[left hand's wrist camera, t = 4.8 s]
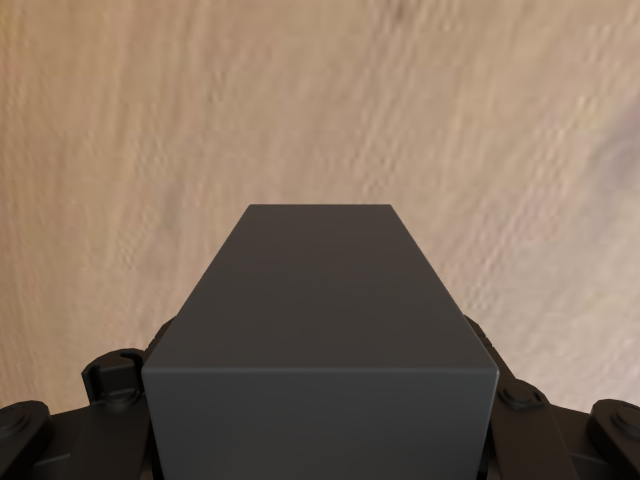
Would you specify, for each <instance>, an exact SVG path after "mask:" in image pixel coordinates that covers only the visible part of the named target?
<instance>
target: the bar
mask: <svg viewBox="0 0 640 480" xmlns="http://www.w3.org/2000/svg"><path fill="white" fill-rule="evenodd" d="M141 375H142V379H143V384H144V389H145V393H146V398H147V403H148V407H149V412H150V417H151V421H152V426H153V431H154V435H155V440H156V444H157V449H158V454H159V458H160V463H161V468H162V472H163V477H164V480H476V479H477V475H478V470H479V465H480V461H481V456H482V452H483V447H484V442H485V438H486V433H487V428H488V424H489V419H490V415H491V410H492V405H493V401H494V396H495V392H496V387H497V382H498V378H499V368H498V366H497V365H496V363H495V362H494V360H493V359H492V357H491V356H490V354H489V353H488V351H487V350H486V348H485V347H484V345H483V344H482V342H481V341H480V339H479V337H478V336H477V334H476V333H475V331H474V330H473V328H472V327H471V325H470V324H469V322H468V321H467V319H466V318H465V316H464V315H463V313H462V312H461V310H460V309H459V307H458V306H457V304H456V303H455V301H454V300H453V298H452V297H451V295H450V294H449V292H448V291H447V289H446V288H445V286H444V285H443V283H442V282H441V280H440V279H439V277H438V276H437V274H436V272H435V271H434V269H433V268H432V266H431V265H430V263H429V262H428V260H427V259H426V257H425V256H424V254H423V253H422V251H421V250H420V248H419V247H418V245H417V244H416V242H415V241H414V239H413V238H412V236H411V235H410V233H409V232H408V230H407V229H406V227H405V226H404V224H403V223H402V221H401V220H400V218H399V217H398V215H397V214H396V212H395V211H394V209H393V207H392V206H391V205H274V204H251V205H249V206H248V208H247V209H246V211H245V212H244V214H243V215H242V217H241V218H240V220H239V221H238V223H237V225H236V226H235V228H234V229H233V231H232V232H231V234H230V235H229V237H228V238H227V240H226V241H225V243H224V244H223V246H222V247H221V249H220V250H219V252H218V253H217V255H216V256H215V258H214V259H213V261H212V262H211V264H210V265H209V267H208V268H207V270H206V272H205V273H204V275H203V276H202V278H201V279H200V281H199V282H198V284H197V285H196V287H195V288H194V290H193V291H192V293H191V294H190V296H189V297H188V299H187V300H186V302H185V303H184V305H183V306H182V308H181V309H180V311H179V312H178V314H177V316H176V317H175V319H174V320H173V322H172V323H171V325H170V326H169V328H168V329H167V331H166V332H165V334H164V335H163V337H162V338H161V340H160V341H159V343H158V344H157V346H156V347H155V349H154V350H153V352H152V353H151V355H150V356H149V358H148V359H147V361H146V363H145V364H144V366H143V367H142V370H141Z"/></svg>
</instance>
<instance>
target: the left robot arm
mask: <svg viewBox="0 0 640 480" xmlns="http://www.w3.org/2000/svg"><path fill="white" fill-rule="evenodd" d="M464 316H465V318H466V319H467V321H468V322H469V324H470V325H471V327H472V328H473V330H474V331H475V333H476V334H477V336H478V337H479V339H480V341H481V342H482V344H483V345H484V347H485V348H486V350H487V351H488V353H489V354H490V356H491V357H492V359H493V360H494V362H495V363H496V365H497V366H498V368H499V378H498V382H497V387H496V392H495V396H494V401H493V405H492V410H491V415H490V419H489V424H488V428H487V433H486V438H485V442H484V447H483V452H482V456H481V461H480V465H479V470H478V475H477V479H476V480H640V407H638V406H636V405H633V404H630V403H627V402H624V401H620V400H614V399H604V400H599V401H597V402H596V403H595V404H594V405H593V407H592V410H591V413H590V414H588V413H584V412H579V411H575V410H571V409H567V408H562V407H559V406H555V405H552V404H550V403H549V401H548V399H547V398H546V396H545V395H544V394H543V393H542V392H541V391H539V390H538V389H537V388H536V387H534V386H533V385H531V384H529V383H527V382H525V381H523V380H519V379H516V378H515V377H514V375H513V374H512V372H511V371H510V369H509V368H508V367H507V365H506V364H505V362H504V361H503V359H502V358H501V357H500V355H499V354H498V352H497V351H496V349H495V348H494V347H492V344H491V342H490V341H489V339H488V338H486V335H485V334H484V332H483V331H482V329H481V328H480V326H479V325H478V324H477V323H476V322H474V321H473V320H471V319H470V318H469V317H467V316H466V315H464ZM175 317H176V316H175ZM175 317H173V318H172V319H171V320H169V321H168V322H167V323H165V324H164V325H162V327H161V328H160V330H159V331H158V333H157V334H156V335H155V339H153V340H152V341H151V343H150V344H149V346H148V348H146V350H145V351H143V350H139V349H135V348H129V349H120V350H116V351H112V352H109V353H107V354H104V355H102V356H100V357H98V358H96V359H95V360H94V361H92V362H91V363H90V364H88V365H87V366H86V368H85V369H84V370H83V372H82V373H81V375H82V378H83V382H84V385H85V389H86V392H87V395H88V399H89V402H90V405H89V406H87V407H83V408H80V409H76V410H72V411H67V412H63V413H59V414H55V415H50V412H49V409H48V406H46V405H45V404H44V403H43V402H40V401H33V400H30V401H24V402H18V403H15V404H12V405H9V406H7V407H4V408H2V409H0V480H164V477H163V472H162V468H161V463H160V458H159V454H158V449H157V444H156V440H155V435H154V431H153V426H152V421H151V417H150V412H149V407H148V403H147V398H146V393H145V389H144V384H143V379H142V375H141V370H142V367H143V366H144V364H145V363H146V361H147V359H148V358H149V356H150V355H151V353H152V352H153V350H154V349H155V347H156V346H157V344H158V343H159V341H160V340H161V338H162V337H163V335H164V334H165V332H166V331H167V329H168V328H169V326H170V325H171V323H172V322H173V320H174V319H175Z"/></svg>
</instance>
